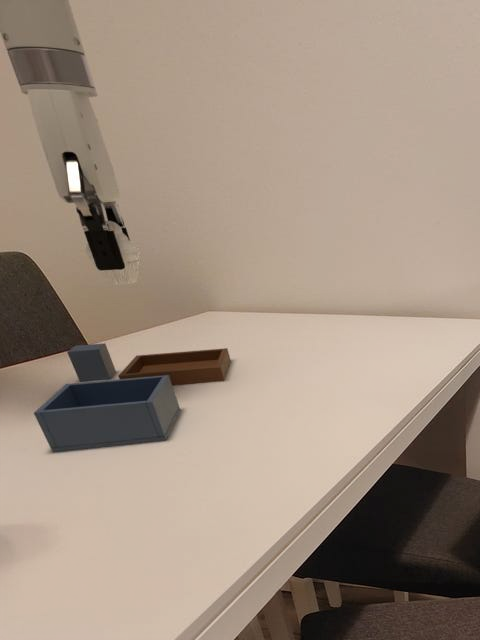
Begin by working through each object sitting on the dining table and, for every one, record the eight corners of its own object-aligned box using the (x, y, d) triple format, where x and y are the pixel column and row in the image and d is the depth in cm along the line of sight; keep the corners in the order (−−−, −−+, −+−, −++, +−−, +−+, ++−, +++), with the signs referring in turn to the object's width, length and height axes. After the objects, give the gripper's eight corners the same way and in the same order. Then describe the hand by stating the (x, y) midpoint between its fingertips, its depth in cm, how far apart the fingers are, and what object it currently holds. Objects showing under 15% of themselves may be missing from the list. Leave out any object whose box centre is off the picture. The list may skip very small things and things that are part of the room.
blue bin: (52, 453, 68) (33, 412, 65) (81, 420, 77) (65, 383, 75) (166, 441, 70) (152, 401, 67) (180, 410, 80) (168, 374, 77)
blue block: (79, 382, 93) (66, 351, 90) (87, 375, 96) (74, 345, 93) (110, 379, 94) (98, 349, 91) (116, 373, 97) (105, 343, 94)
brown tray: (123, 390, 88) (118, 375, 87) (140, 368, 99) (136, 355, 98) (224, 381, 91) (220, 366, 90) (230, 361, 102) (227, 348, 100)
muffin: (129, 278, 81) (109, 216, 77) (159, 281, 79) (139, 217, 74) (87, 284, 77) (63, 219, 72) (117, 287, 74) (94, 219, 70)
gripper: (43, 86, 71) (103, 261, 82) (-14, 64, 58) (67, 276, 69) (109, 87, 73) (160, 259, 84) (69, 66, 60) (135, 273, 71)
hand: (117, 265), depth 76 cm, fingers closed on muffin, 6 cm apart
